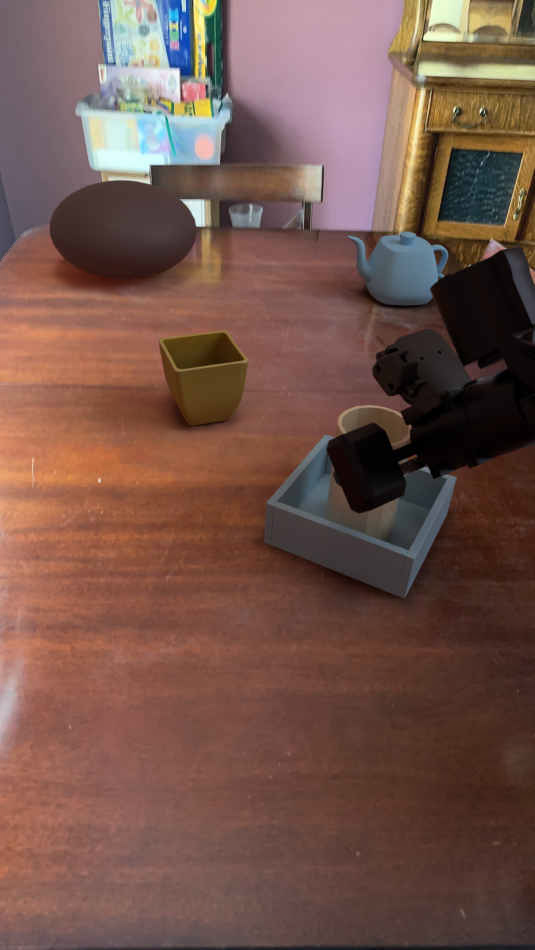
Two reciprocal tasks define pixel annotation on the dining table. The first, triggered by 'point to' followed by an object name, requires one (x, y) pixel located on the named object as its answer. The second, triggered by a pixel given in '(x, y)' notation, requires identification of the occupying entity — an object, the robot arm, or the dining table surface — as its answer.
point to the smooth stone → (123, 229)
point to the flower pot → (204, 375)
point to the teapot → (400, 268)
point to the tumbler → (338, 508)
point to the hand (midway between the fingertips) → (373, 462)
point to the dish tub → (348, 551)
